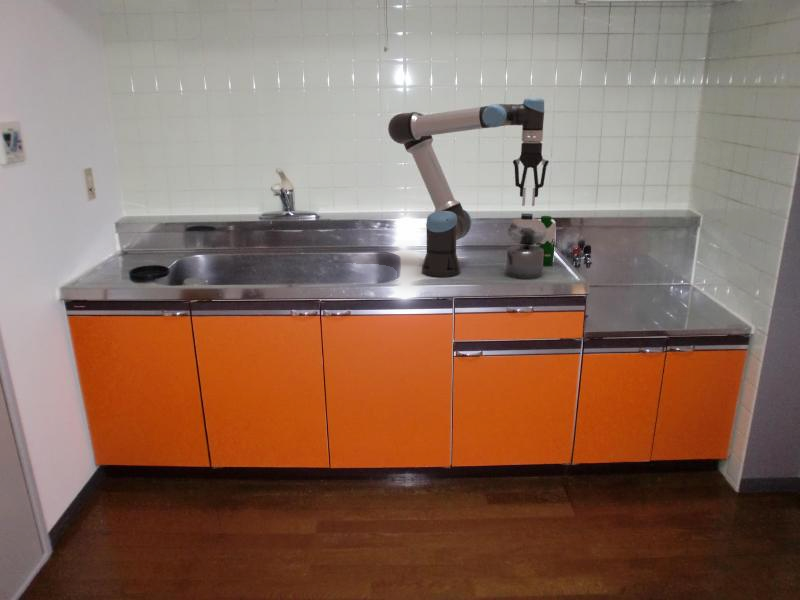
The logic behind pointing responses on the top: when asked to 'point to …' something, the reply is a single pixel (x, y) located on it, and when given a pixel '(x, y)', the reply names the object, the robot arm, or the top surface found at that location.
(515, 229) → the cooker lid
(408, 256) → the top surface
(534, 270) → the cooker pot
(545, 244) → the milk carton
